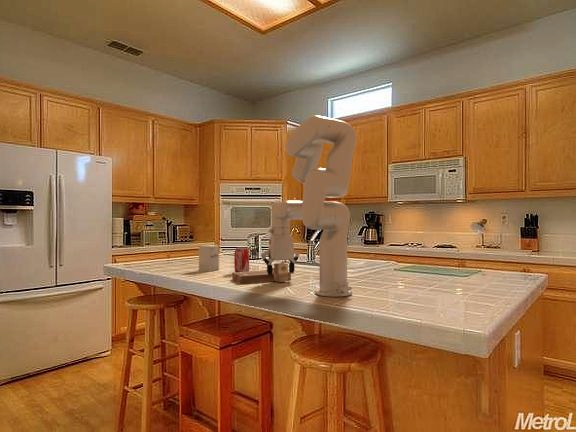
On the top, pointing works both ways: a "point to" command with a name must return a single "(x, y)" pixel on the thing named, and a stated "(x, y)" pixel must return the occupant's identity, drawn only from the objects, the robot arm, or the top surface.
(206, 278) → the top surface
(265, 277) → the walnut plank
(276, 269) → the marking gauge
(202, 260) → the supplement box
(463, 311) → the top surface
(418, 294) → the top surface
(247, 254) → the soda can
